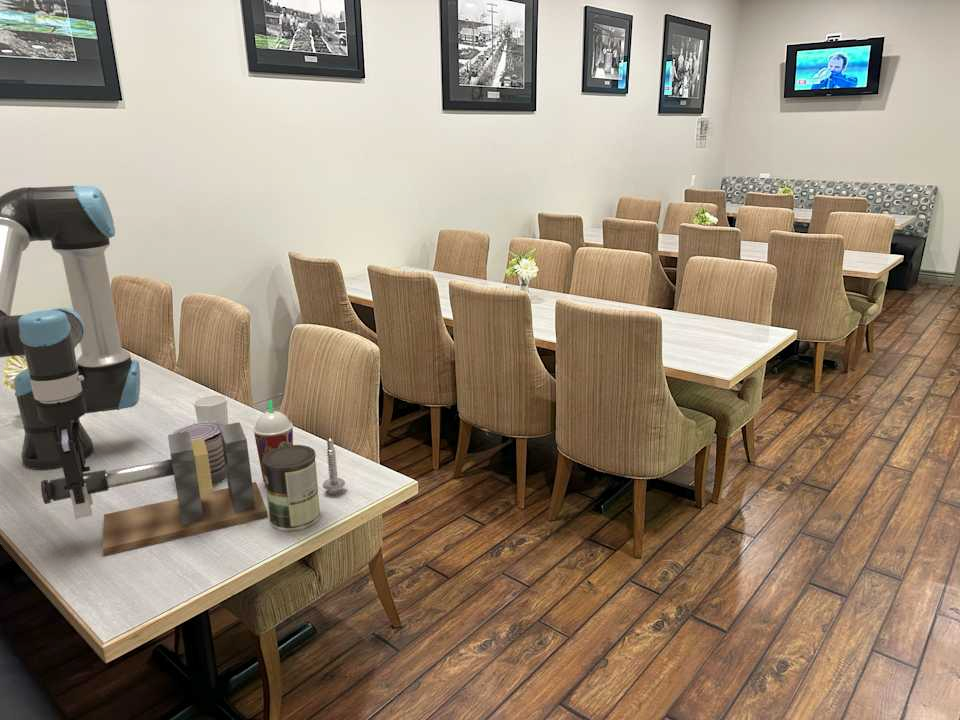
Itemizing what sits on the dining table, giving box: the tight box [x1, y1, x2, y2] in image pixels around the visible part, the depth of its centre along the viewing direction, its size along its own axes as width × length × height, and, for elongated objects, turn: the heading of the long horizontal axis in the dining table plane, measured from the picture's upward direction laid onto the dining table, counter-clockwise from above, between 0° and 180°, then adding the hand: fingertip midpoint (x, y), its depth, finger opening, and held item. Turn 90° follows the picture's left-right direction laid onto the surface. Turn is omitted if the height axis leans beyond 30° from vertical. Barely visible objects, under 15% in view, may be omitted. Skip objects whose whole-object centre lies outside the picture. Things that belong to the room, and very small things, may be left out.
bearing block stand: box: [101, 421, 269, 557], centre depth 138 cm, size 30×14×17 cm, turn 116°
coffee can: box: [262, 444, 321, 532], centre depth 138 cm, size 10×10×14 cm
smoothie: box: [252, 399, 294, 483], centre depth 152 cm, size 8×8×20 cm
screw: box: [322, 437, 346, 496], centre depth 148 cm, size 13×5×5 cm
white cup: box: [193, 394, 229, 425], centre depth 179 cm, size 8×8×10 cm
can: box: [172, 420, 227, 487], centre depth 156 cm, size 11×11×12 cm
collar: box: [191, 438, 214, 495], centre depth 139 cm, size 2×8×8 cm, turn 26°
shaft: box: [40, 458, 174, 505], centre depth 133 cm, size 28×4×4 cm, turn 116°
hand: (84, 510), depth 131 cm, fingers closed on shaft, 4 cm apart
